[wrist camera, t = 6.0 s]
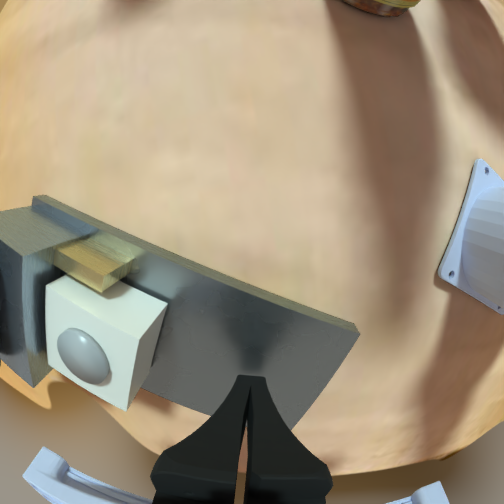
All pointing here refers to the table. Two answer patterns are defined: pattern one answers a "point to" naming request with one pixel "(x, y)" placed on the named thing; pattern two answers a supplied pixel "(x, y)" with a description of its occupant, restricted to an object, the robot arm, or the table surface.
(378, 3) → the sauce bottle
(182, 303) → the base
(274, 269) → the table surface
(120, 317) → the white button box
